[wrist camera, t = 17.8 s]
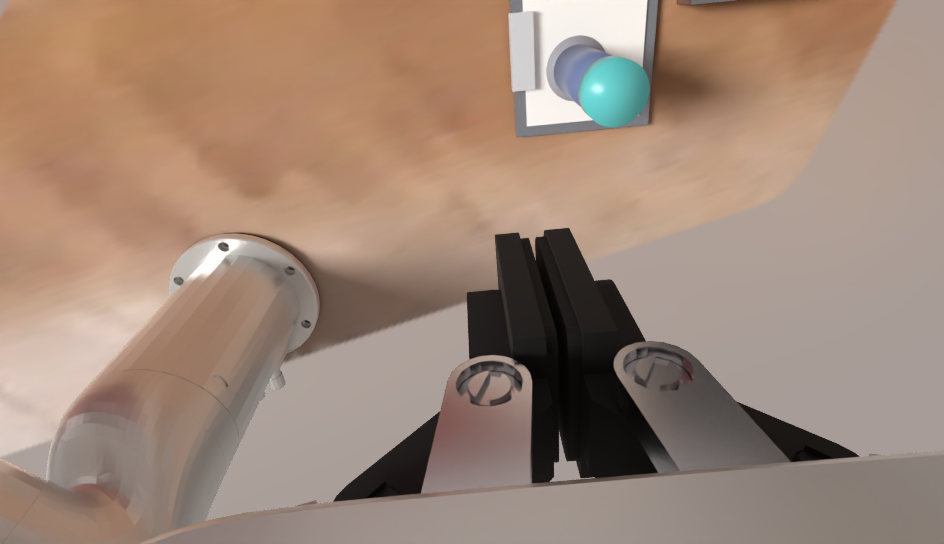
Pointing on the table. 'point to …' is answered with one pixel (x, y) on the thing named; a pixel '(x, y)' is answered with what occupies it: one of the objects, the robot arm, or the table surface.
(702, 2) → the button base
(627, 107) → the cylinder
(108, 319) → the table surface
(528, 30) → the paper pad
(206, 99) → the table surface
